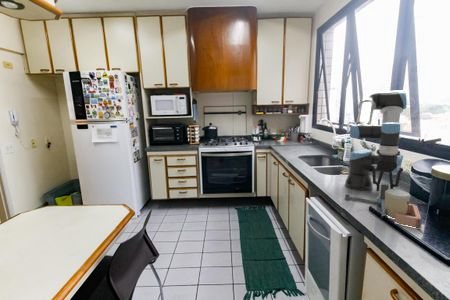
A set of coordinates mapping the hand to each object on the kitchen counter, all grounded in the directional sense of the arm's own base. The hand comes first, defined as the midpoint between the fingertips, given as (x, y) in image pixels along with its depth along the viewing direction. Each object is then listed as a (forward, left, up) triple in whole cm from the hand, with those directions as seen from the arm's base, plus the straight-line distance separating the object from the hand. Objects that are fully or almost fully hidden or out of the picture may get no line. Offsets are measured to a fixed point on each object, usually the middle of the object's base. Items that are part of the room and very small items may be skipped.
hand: (383, 197), depth 116 cm
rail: (0, -4, -4) cm, 6 cm away
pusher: (+7, 0, -4) cm, 8 cm away
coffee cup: (+12, +5, -4) cm, 13 cm away
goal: (+12, +8, -4) cm, 15 cm away
